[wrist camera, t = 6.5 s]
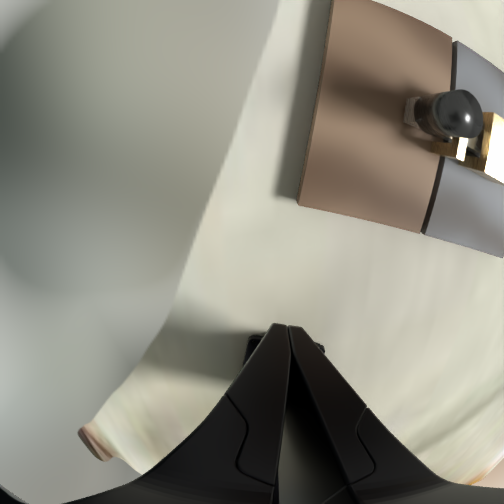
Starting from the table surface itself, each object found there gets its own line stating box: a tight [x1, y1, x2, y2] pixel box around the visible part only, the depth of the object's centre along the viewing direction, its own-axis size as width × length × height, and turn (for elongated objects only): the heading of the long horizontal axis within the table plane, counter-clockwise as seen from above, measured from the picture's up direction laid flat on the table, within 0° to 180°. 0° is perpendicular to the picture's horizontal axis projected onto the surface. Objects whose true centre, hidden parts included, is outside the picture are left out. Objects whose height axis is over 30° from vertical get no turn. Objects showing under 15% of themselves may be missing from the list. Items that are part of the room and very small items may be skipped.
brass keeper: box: [430, 112, 504, 186], centre depth 13 cm, size 4×7×3 cm, turn 81°
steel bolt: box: [403, 89, 484, 158], centre depth 11 cm, size 2×8×5 cm, turn 81°
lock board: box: [296, 0, 504, 258], centre depth 15 cm, size 15×19×2 cm
